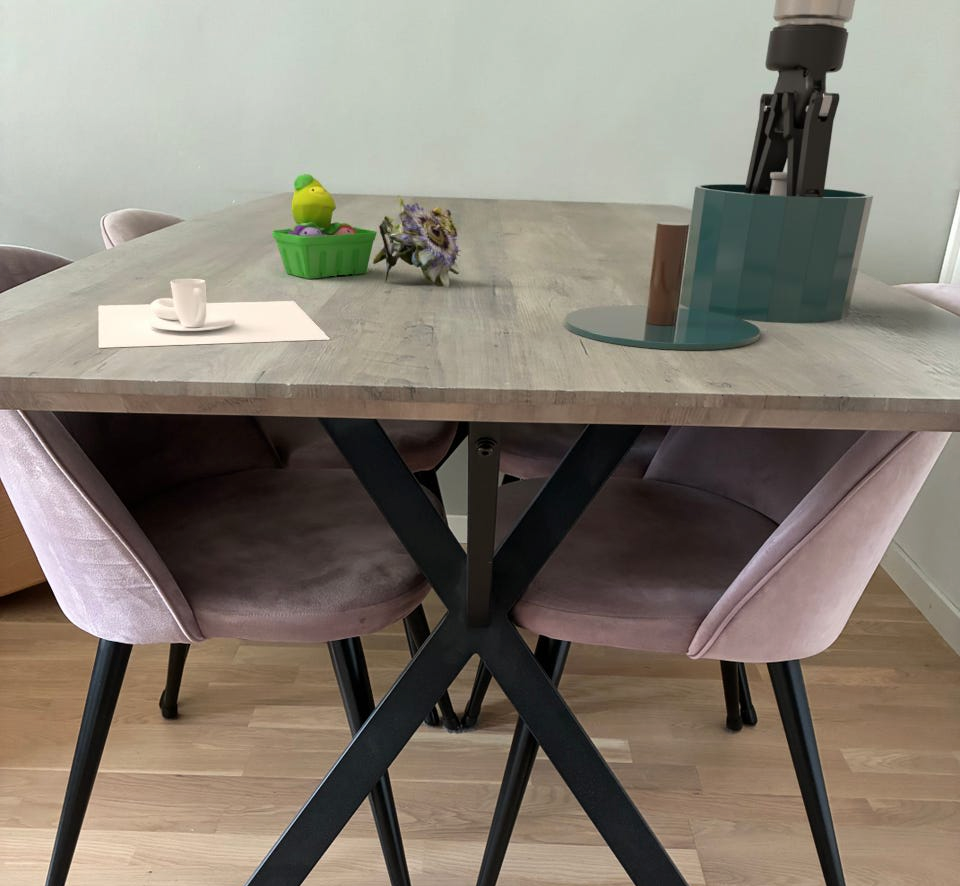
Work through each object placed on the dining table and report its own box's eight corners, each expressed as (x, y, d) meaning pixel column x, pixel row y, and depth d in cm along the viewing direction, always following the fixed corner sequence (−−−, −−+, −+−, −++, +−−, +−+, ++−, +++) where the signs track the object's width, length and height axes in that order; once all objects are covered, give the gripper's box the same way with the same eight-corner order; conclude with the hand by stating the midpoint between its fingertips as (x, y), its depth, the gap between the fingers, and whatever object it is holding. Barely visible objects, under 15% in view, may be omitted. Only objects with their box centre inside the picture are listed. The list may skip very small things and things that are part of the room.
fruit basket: (305, 281, 115) (299, 178, 110) (266, 272, 121) (259, 173, 116) (380, 274, 122) (379, 177, 117) (340, 265, 128) (337, 172, 122)
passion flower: (441, 334, 117) (440, 258, 106) (359, 310, 118) (350, 232, 108) (471, 270, 122) (473, 191, 111) (392, 247, 123) (386, 167, 112)
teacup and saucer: (145, 318, 93) (139, 273, 91) (229, 316, 95) (225, 272, 93) (149, 337, 85) (143, 289, 83) (239, 334, 88) (235, 287, 86)
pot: (802, 298, 117) (823, 186, 111) (876, 329, 101) (906, 199, 95) (659, 297, 114) (673, 182, 108) (712, 328, 98) (732, 195, 92)
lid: (717, 317, 104) (732, 215, 99) (790, 357, 87) (812, 237, 82) (546, 316, 101) (553, 211, 96) (588, 356, 85) (599, 233, 80)
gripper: (736, 30, 103) (704, 257, 114) (819, 15, 85) (772, 285, 96) (802, 33, 104) (764, 258, 115) (897, 19, 86) (842, 286, 97)
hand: (768, 270), depth 105 cm, fingers closed on flask, 7 cm apart
